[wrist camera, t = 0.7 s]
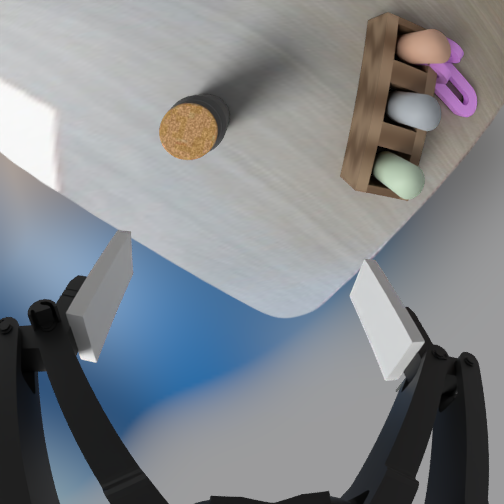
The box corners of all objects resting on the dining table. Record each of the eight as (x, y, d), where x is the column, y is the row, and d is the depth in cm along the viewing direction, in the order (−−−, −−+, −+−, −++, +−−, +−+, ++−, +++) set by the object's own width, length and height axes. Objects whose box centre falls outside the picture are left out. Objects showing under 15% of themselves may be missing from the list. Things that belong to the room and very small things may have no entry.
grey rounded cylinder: (387, 87, 29) (415, 89, 24) (414, 96, 30) (443, 101, 24) (381, 117, 31) (408, 125, 26) (408, 125, 32) (436, 135, 26)
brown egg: (395, 30, 26) (423, 23, 20) (422, 41, 26) (452, 38, 20) (392, 57, 27) (420, 55, 22) (418, 68, 28) (448, 69, 22)
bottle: (239, 110, 35) (239, 121, 22) (212, 147, 37) (198, 180, 24) (200, 85, 33) (177, 82, 20) (174, 123, 35) (139, 143, 22)
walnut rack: (368, 20, 28) (387, 12, 23) (417, 40, 29) (441, 37, 24) (340, 176, 40) (355, 190, 35) (388, 185, 41) (408, 200, 35)
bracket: (406, 65, 31) (432, 64, 25) (422, 39, 29) (450, 36, 23) (461, 122, 35) (490, 131, 29) (476, 98, 32) (504, 104, 26)
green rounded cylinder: (375, 147, 33) (399, 160, 28) (401, 154, 34) (428, 169, 28) (367, 178, 35) (390, 196, 30) (394, 183, 36) (418, 202, 30)
